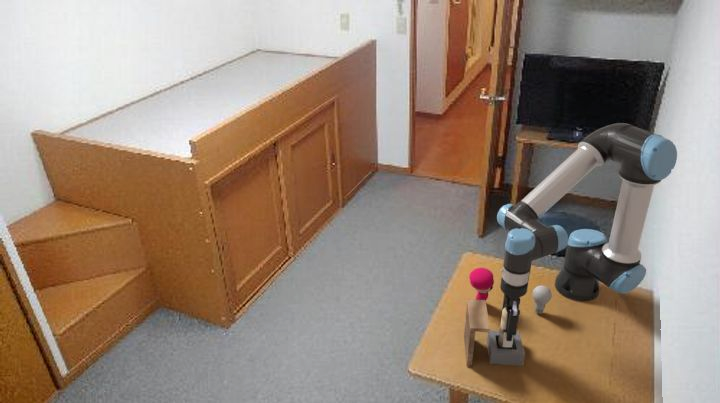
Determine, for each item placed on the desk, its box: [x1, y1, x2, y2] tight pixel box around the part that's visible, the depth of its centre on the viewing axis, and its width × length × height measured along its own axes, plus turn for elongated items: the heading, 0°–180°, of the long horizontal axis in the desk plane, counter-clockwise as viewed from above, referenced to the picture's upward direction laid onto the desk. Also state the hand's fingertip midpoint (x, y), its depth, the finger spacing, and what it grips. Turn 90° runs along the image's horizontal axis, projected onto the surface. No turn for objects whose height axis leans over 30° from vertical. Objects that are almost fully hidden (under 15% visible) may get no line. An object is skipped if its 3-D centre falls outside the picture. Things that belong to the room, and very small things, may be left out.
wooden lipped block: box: [463, 298, 491, 367], centre depth 167 cm, size 6×13×15 cm, turn 174°
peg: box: [497, 307, 514, 349], centre depth 165 cm, size 4×4×14 cm
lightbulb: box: [531, 285, 553, 315], centre depth 183 cm, size 6×6×11 cm
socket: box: [486, 330, 526, 367], centre depth 169 cm, size 10×10×4 cm
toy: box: [469, 267, 495, 302], centre depth 186 cm, size 8×8×15 cm
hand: (506, 340), depth 167 cm, fingers closed on peg, 4 cm apart
